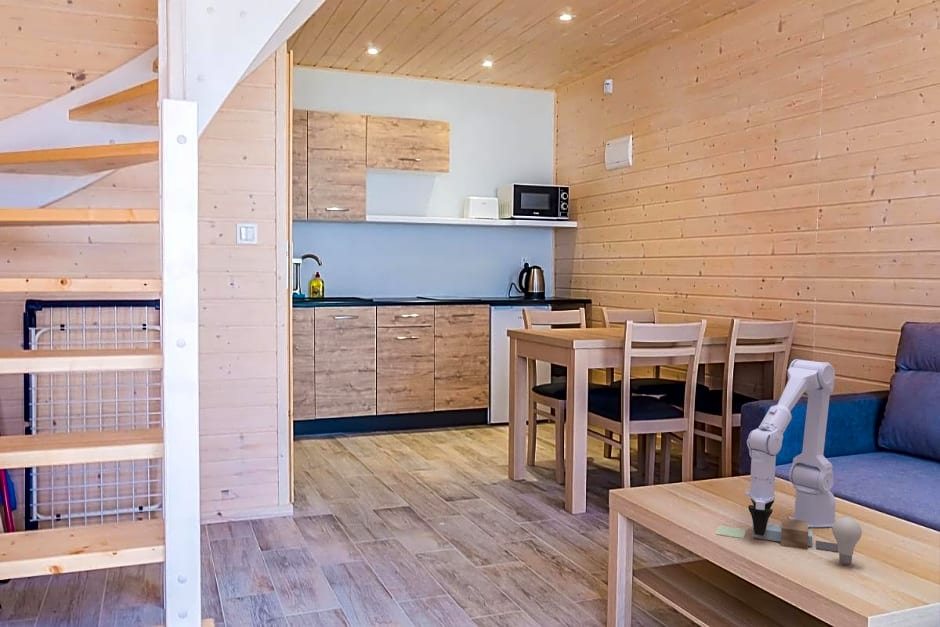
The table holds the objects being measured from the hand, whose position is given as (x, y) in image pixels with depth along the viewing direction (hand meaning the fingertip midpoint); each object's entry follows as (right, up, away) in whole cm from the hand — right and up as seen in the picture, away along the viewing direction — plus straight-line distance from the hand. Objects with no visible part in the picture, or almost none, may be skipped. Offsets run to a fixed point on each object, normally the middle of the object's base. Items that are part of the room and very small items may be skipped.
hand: (760, 530), depth 194 cm
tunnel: (+7, -2, -3) cm, 8 cm away
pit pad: (+15, -2, -6) cm, 16 cm away
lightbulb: (+13, -3, -18) cm, 22 cm away
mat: (-6, -1, +3) cm, 7 cm away
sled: (+5, -1, -2) cm, 5 cm away
